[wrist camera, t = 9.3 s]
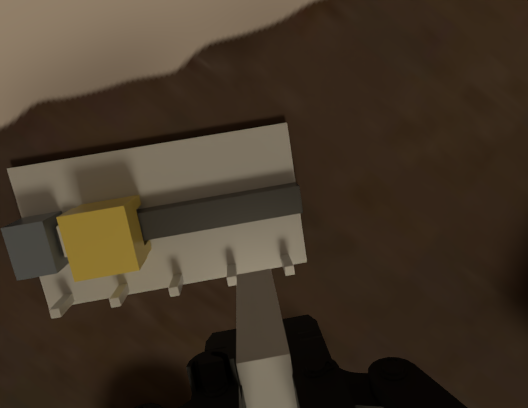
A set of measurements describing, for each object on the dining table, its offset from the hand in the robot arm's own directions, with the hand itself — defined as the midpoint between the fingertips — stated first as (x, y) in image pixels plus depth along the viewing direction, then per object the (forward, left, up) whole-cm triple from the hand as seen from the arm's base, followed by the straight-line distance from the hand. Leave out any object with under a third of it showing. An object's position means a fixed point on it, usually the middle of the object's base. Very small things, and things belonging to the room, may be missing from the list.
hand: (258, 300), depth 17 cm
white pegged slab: (+7, 0, -20) cm, 21 cm away
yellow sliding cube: (+11, 0, -19) cm, 22 cm away
